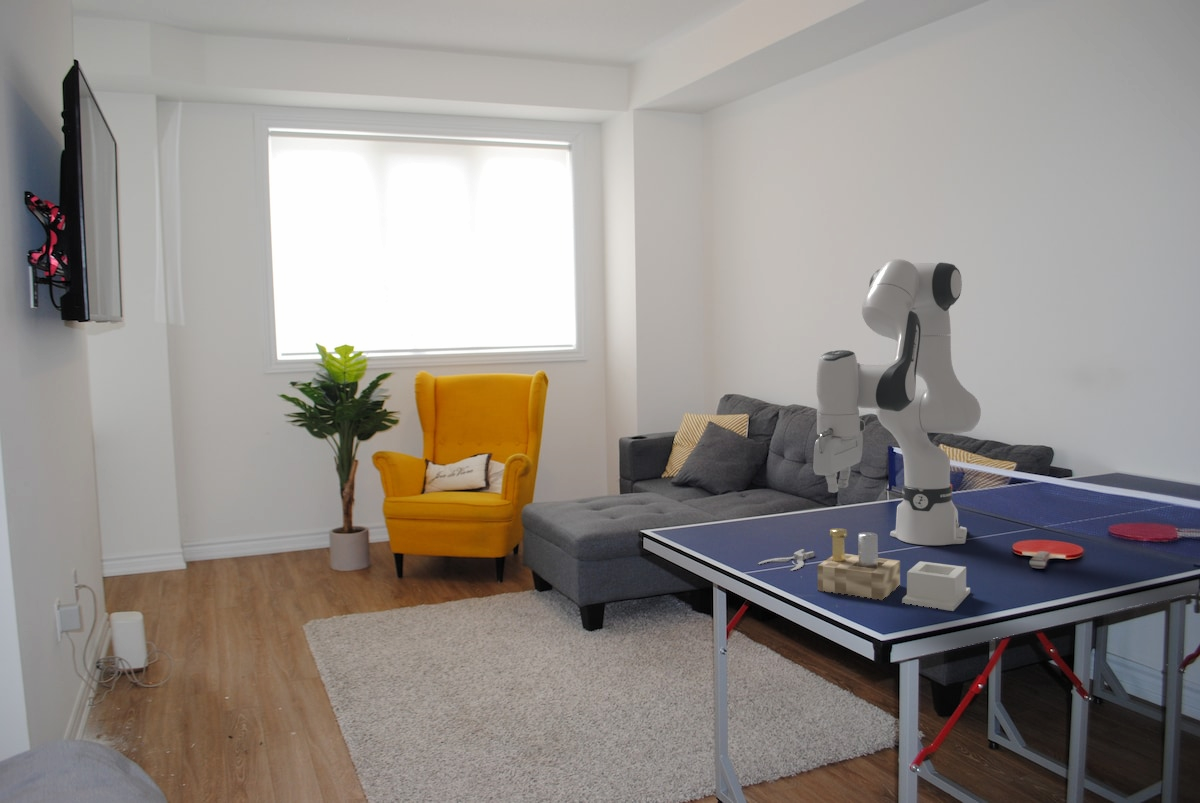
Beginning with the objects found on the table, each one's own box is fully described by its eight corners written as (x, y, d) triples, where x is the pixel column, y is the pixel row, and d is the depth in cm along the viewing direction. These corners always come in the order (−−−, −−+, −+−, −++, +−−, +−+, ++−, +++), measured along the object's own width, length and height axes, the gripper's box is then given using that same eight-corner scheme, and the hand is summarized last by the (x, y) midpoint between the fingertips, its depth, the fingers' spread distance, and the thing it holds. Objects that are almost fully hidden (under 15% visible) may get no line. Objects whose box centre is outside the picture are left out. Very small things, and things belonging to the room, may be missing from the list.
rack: (921, 585, 196) (921, 558, 196) (970, 592, 191) (970, 564, 190) (902, 603, 185) (902, 574, 184) (953, 611, 179) (953, 581, 179)
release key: (833, 564, 201) (833, 527, 200) (849, 566, 199) (849, 529, 198) (827, 567, 198) (827, 531, 197) (843, 570, 196) (843, 532, 195)
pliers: (756, 559, 217) (791, 547, 227) (756, 566, 217) (791, 553, 228) (792, 566, 210) (826, 553, 221) (792, 573, 210) (826, 559, 221)
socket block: (837, 576, 205) (837, 552, 204) (900, 585, 197) (900, 560, 196) (817, 590, 195) (817, 565, 195) (882, 600, 187) (882, 574, 187)
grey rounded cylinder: (862, 585, 198) (861, 531, 197) (880, 588, 195) (880, 533, 194) (855, 590, 194) (855, 535, 193) (874, 593, 192) (874, 537, 191)
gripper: (834, 432, 185) (835, 499, 186) (867, 421, 202) (868, 483, 203) (805, 431, 189) (806, 496, 190) (840, 420, 205) (840, 481, 207)
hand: (838, 489), depth 197 cm, fingers open, 5 cm apart
